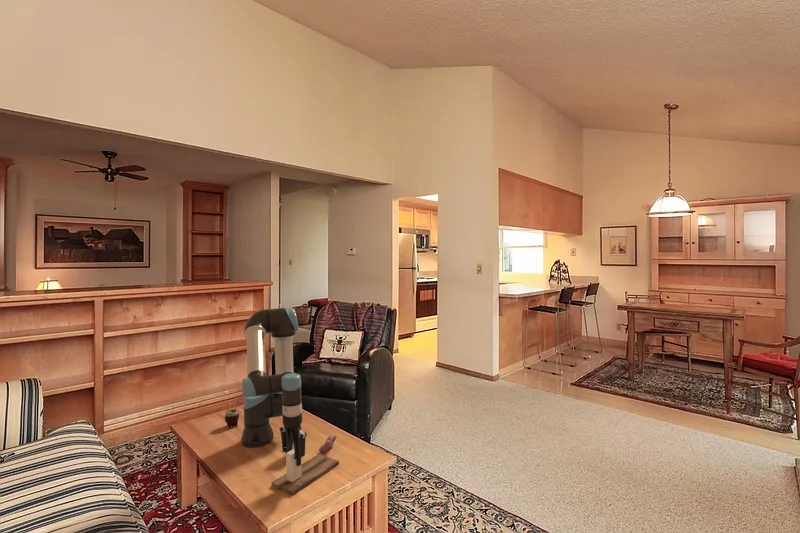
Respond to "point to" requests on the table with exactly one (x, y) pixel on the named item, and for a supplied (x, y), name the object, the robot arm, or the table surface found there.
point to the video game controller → (328, 443)
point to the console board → (306, 474)
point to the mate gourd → (232, 416)
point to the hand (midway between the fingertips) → (294, 471)
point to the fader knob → (291, 467)
